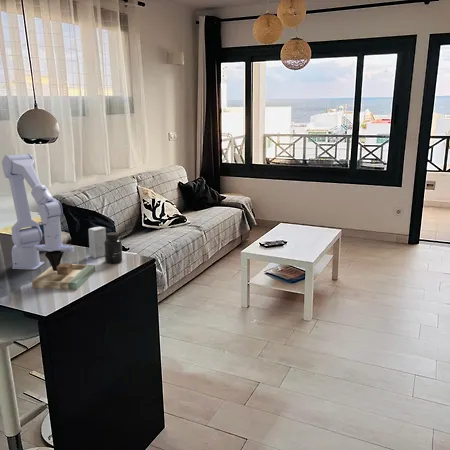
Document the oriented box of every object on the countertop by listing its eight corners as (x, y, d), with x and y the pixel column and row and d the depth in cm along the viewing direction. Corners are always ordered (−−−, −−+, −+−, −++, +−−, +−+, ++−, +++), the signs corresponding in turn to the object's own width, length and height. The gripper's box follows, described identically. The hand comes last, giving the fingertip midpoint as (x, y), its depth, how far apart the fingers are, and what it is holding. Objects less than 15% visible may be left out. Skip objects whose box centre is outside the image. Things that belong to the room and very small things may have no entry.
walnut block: (57, 274, 163) (56, 266, 162) (62, 270, 167) (61, 262, 166) (67, 274, 162) (67, 267, 162) (72, 271, 166) (71, 263, 165)
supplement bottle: (118, 265, 180) (116, 236, 177) (102, 263, 181) (100, 235, 178) (125, 259, 187) (123, 231, 183) (109, 258, 188) (108, 230, 185)
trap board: (32, 287, 157) (31, 281, 156) (55, 269, 174) (55, 263, 174) (76, 289, 156) (76, 282, 155) (95, 271, 173) (95, 265, 173)
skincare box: (96, 258, 188) (94, 230, 185) (89, 256, 190) (87, 228, 187) (107, 254, 192) (106, 227, 189) (101, 252, 195) (99, 225, 192)
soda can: (34, 250, 197) (31, 223, 194) (46, 245, 204) (44, 220, 200) (46, 252, 195) (44, 225, 192) (58, 247, 201) (55, 221, 198)
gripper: (27, 236, 158) (31, 273, 161) (67, 238, 156) (70, 274, 160) (37, 231, 164) (41, 266, 168) (75, 232, 163) (78, 267, 167)
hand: (56, 270), depth 164 cm, fingers closed
